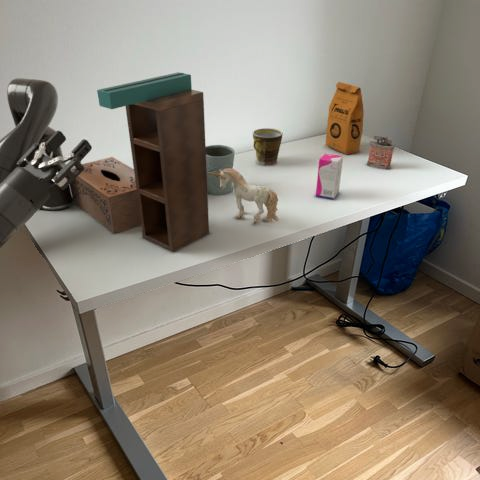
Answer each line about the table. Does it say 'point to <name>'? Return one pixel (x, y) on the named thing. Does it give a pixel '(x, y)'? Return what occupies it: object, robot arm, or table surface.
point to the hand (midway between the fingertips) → (75, 138)
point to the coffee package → (345, 119)
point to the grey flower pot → (218, 167)
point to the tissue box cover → (108, 193)
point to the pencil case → (143, 90)
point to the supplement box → (329, 176)
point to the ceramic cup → (267, 145)
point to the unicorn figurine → (249, 194)
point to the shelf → (170, 168)
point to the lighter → (380, 152)
